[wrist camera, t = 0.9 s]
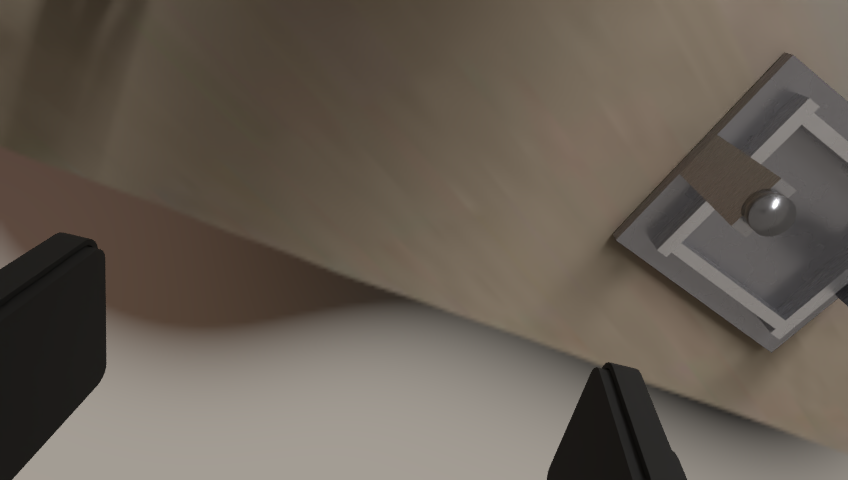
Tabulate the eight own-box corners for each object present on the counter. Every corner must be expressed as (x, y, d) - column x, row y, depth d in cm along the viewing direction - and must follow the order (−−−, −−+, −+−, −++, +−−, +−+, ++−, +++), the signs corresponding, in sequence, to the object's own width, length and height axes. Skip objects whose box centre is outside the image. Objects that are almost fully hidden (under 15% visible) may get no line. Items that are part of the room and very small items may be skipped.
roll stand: (778, 47, 33) (892, 76, 24) (952, 196, 36) (1114, 273, 27) (606, 229, 39) (647, 309, 30) (770, 347, 41) (853, 454, 32)
